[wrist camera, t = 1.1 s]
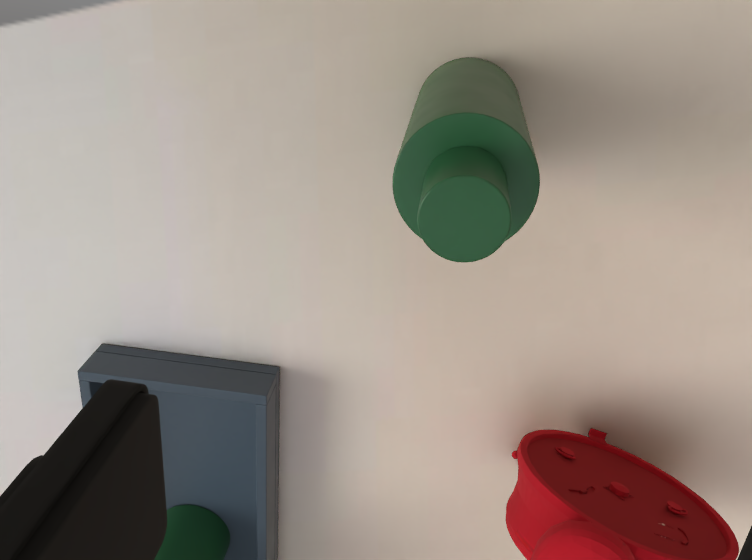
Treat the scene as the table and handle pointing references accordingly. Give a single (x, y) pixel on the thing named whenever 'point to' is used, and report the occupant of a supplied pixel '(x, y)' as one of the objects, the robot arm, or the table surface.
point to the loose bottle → (466, 162)
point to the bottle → (194, 535)
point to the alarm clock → (606, 505)
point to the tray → (209, 435)
